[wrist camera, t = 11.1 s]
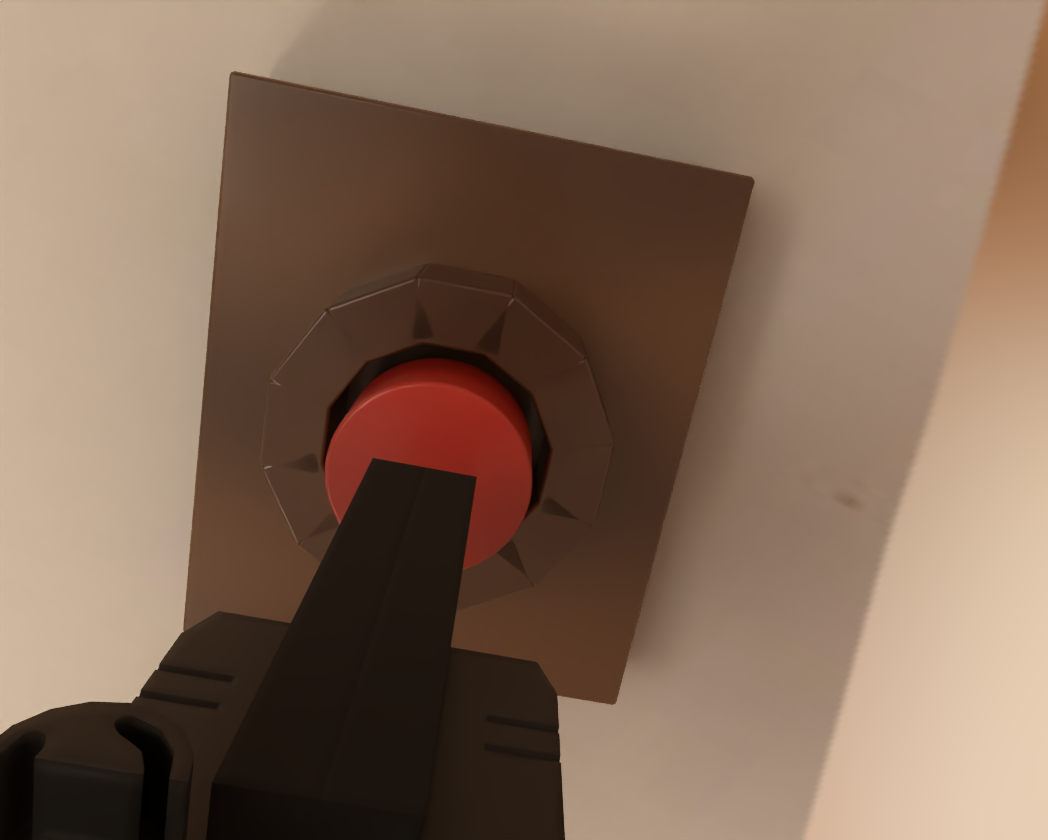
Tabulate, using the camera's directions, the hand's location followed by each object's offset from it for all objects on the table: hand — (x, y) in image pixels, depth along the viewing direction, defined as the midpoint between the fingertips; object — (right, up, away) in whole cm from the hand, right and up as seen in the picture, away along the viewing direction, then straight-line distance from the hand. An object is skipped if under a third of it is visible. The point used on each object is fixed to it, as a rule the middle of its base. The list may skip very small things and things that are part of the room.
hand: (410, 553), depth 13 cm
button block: (0, +3, +7) cm, 8 cm away
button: (0, +1, +4) cm, 4 cm away
